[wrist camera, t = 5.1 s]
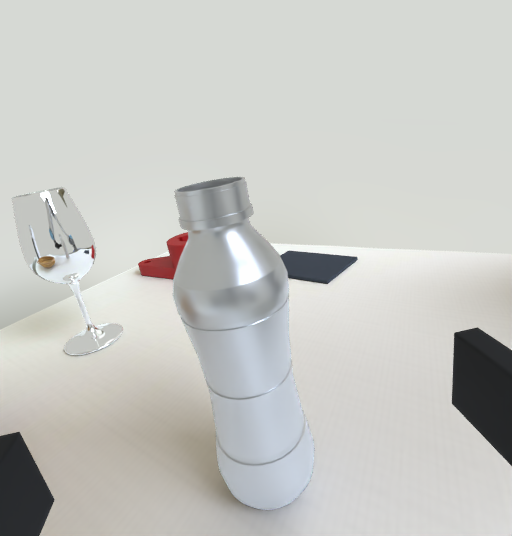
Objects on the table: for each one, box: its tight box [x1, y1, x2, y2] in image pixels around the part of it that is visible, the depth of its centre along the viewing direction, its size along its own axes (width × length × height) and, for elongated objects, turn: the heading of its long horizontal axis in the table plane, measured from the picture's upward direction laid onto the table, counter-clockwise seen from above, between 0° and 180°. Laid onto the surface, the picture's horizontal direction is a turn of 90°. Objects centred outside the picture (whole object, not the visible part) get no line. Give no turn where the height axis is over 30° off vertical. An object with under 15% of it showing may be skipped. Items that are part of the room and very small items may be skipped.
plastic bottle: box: [173, 177, 315, 510], centre depth 21 cm, size 6×7×20 cm
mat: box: [280, 251, 357, 284], centre depth 60 cm, size 14×10×1 cm
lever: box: [138, 232, 188, 279], centre depth 67 cm, size 18×9×7 cm, turn 71°
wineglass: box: [12, 187, 123, 355], centre depth 44 cm, size 8×8×20 cm
